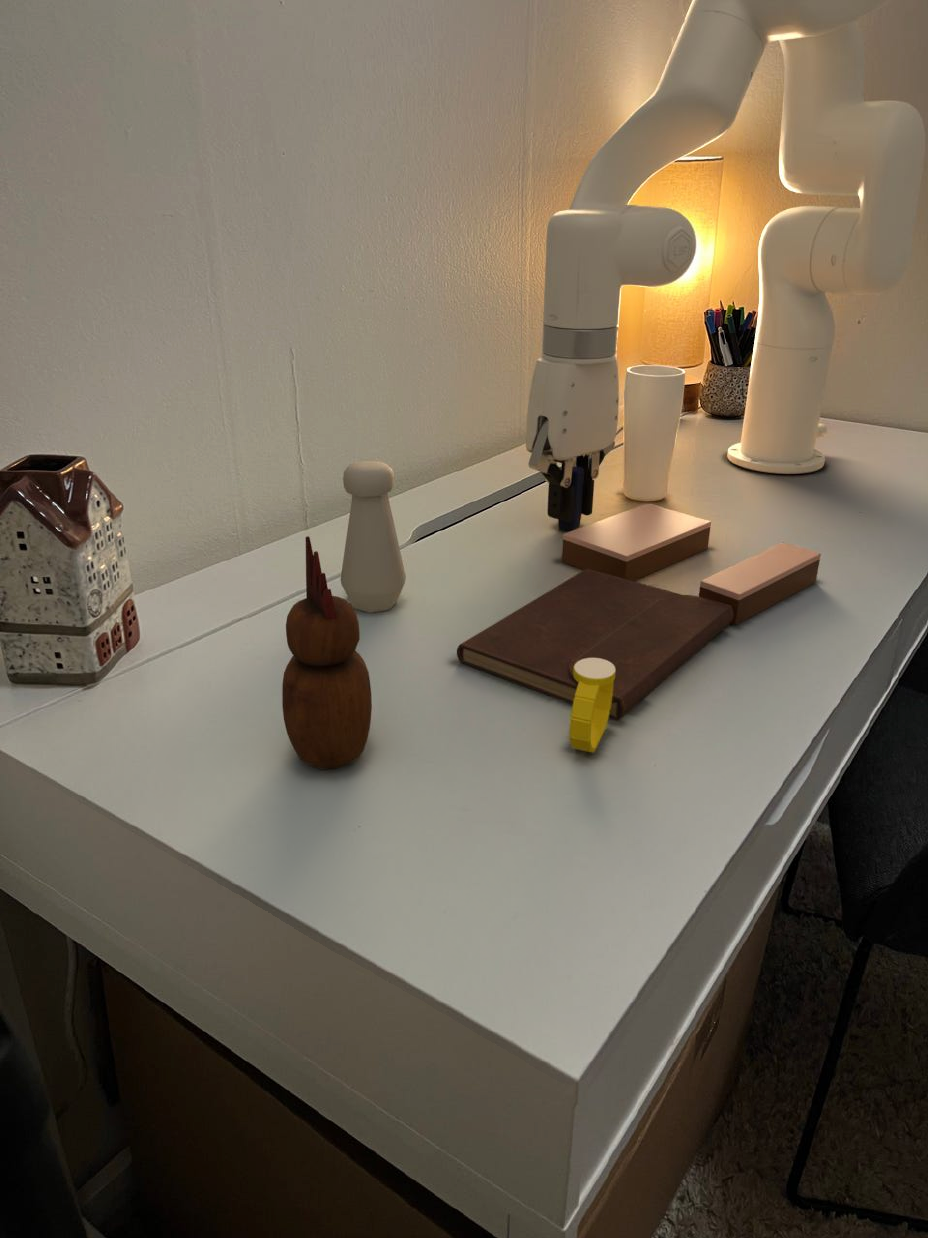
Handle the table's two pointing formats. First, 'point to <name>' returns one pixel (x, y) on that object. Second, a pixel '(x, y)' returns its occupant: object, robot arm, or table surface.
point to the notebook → (598, 637)
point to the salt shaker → (371, 540)
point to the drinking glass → (650, 428)
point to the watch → (591, 702)
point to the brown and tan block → (636, 542)
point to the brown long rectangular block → (762, 580)
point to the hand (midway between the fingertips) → (569, 514)
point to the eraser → (575, 500)
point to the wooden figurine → (325, 676)
